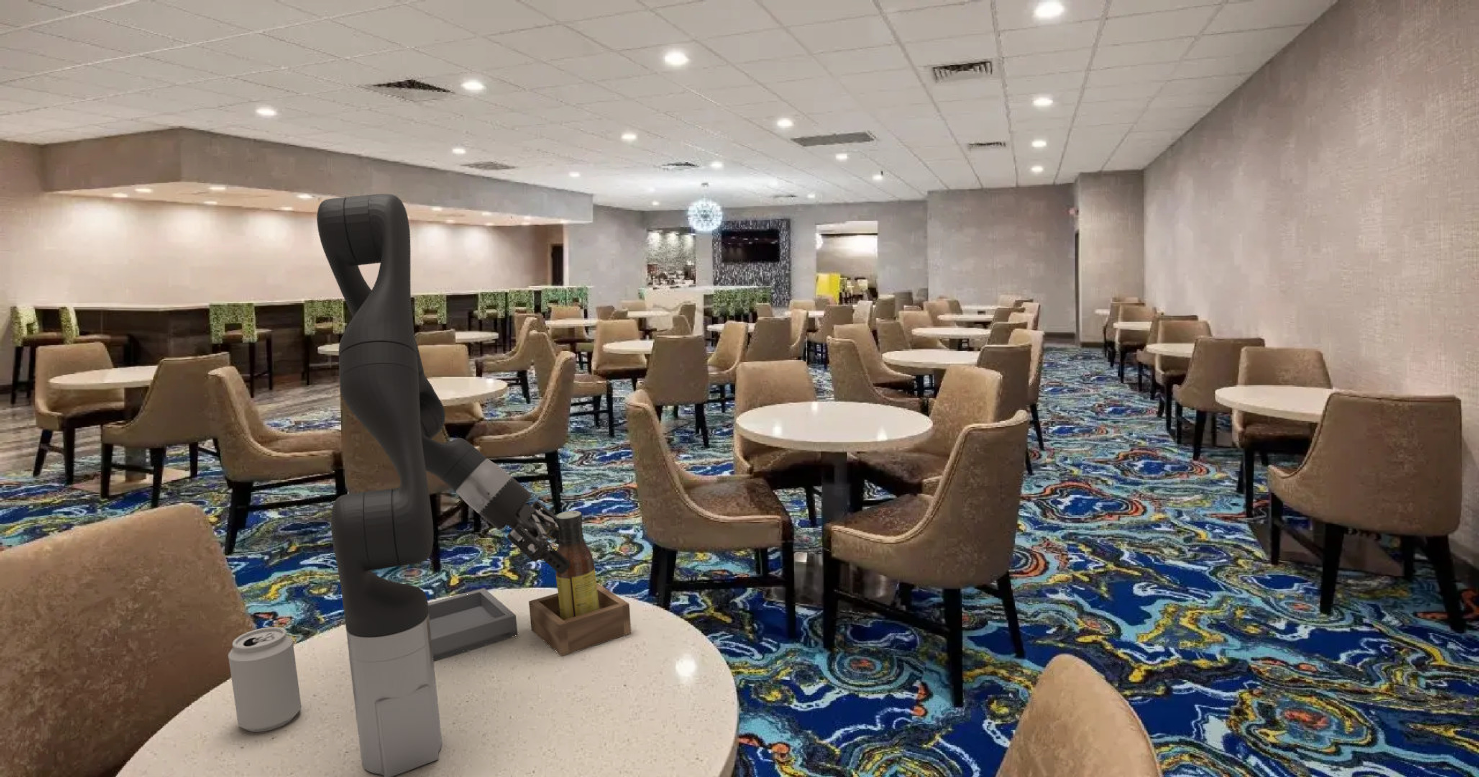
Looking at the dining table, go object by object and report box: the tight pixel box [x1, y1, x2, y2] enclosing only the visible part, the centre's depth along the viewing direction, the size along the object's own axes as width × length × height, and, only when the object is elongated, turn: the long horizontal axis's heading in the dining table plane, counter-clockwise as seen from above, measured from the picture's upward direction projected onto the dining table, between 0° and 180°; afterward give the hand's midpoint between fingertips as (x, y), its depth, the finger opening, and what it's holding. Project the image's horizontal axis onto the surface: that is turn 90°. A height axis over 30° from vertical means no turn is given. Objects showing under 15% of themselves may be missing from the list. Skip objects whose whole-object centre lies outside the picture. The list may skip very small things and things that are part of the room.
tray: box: [428, 587, 519, 662], centre depth 135 cm, size 15×15×4 cm
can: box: [227, 626, 302, 733], centre depth 110 cm, size 8×8×12 cm
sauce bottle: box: [555, 510, 599, 620], centre depth 132 cm, size 6×6×20 cm
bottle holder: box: [528, 582, 632, 657], centre depth 133 cm, size 12×12×5 cm
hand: (571, 559), depth 132 cm, fingers open, 8 cm apart
